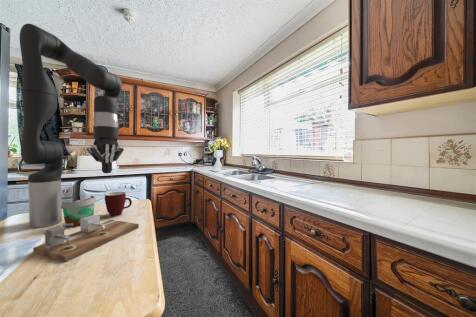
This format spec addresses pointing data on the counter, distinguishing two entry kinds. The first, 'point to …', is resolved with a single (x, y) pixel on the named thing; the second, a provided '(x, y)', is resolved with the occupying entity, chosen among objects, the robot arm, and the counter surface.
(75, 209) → the food container
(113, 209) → the mug
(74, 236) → the hole board
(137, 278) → the counter surface
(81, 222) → the leg
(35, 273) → the counter surface
